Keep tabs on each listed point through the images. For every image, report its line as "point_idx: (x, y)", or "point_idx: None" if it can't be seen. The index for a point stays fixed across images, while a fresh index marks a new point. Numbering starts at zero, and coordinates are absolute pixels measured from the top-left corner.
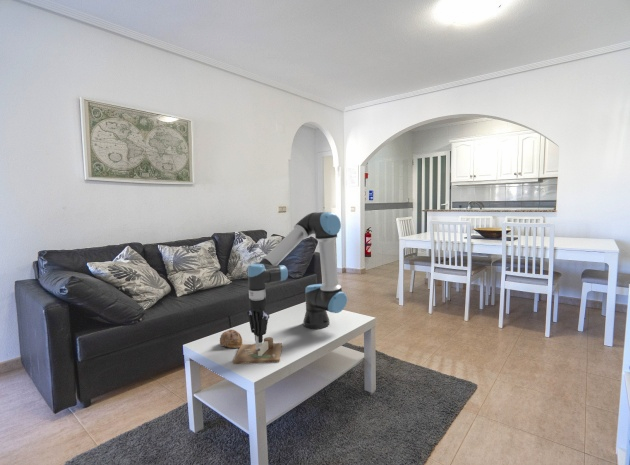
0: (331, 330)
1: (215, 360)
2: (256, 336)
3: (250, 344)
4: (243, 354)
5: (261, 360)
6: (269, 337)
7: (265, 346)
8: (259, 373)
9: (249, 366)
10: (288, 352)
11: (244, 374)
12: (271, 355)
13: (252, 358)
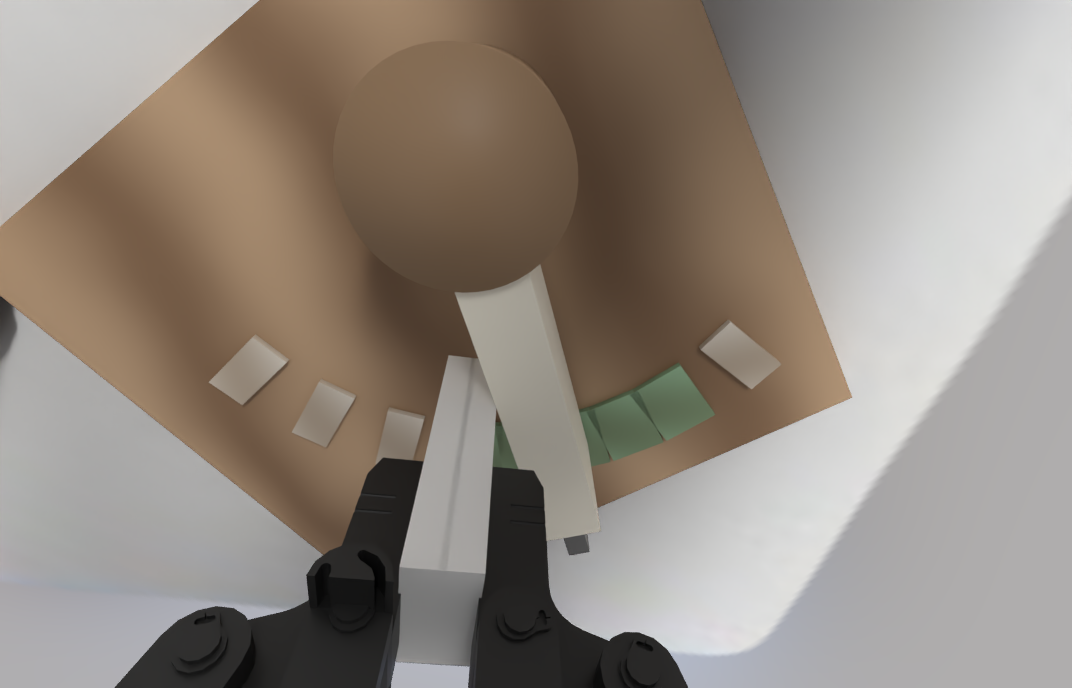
0: None
1: (171, 590)
2: (438, 649)
3: (71, 181)
4: (330, 473)
5: (638, 485)
6: (405, 68)
7: (558, 364)
8: (731, 591)
9: (564, 551)
10: (867, 52)
11: None
12: (694, 356)
13: None
